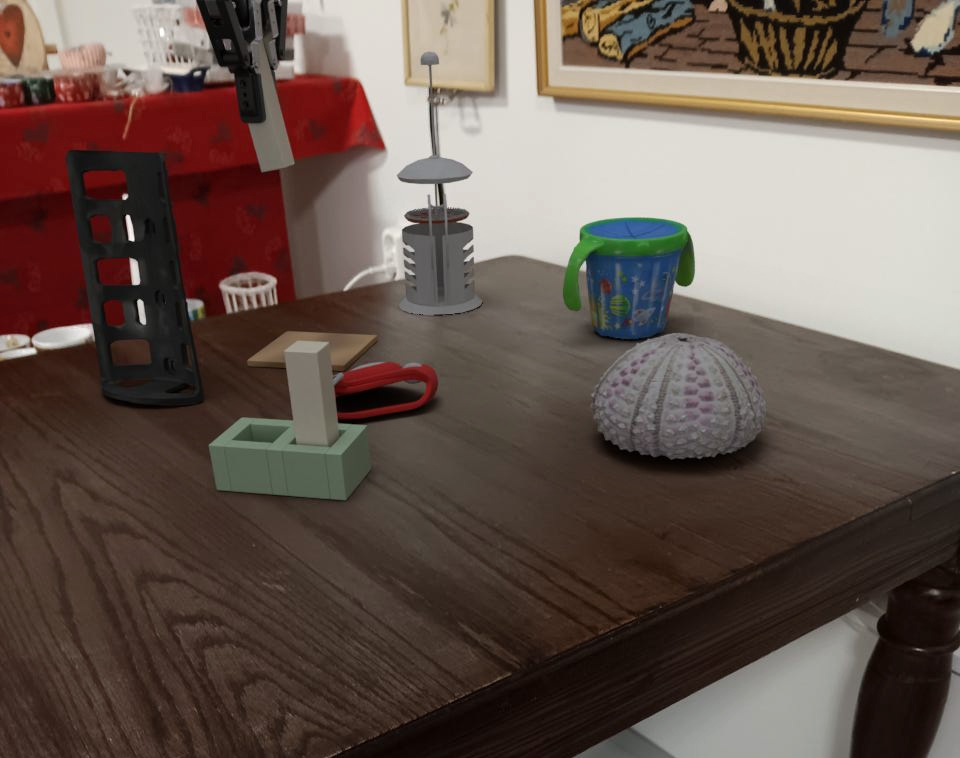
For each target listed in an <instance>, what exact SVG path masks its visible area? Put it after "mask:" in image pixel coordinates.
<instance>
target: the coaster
mask: <svg viewBox="0 0 960 758" xmlns="http://www.w3.org/2000/svg"><path fill="white" fill-rule="evenodd" d="M296 341H315V342H329V345H330V355H331V364H332V372H333V371H335V372H346V371H347V370H348V369H349V368H350V367H351V366H352V365H353V364H354V363H355V362H356V361H357V360H358V359H359V358H361V356H363V355H364V354H365V353H367V351H368V350H369V349H370V348H371V347H372V346H373V345H375V344H376V342H378V335H377V334H361V333H360V334H358V333H336V332H315V331H313V332H312V331H293V330H292V331H291V330H289V331H288V330H287V331H285V332H284V333H282V334H281V335H279V336H278V337H277V338H276V339H274V340H273V341H271V342H270V343H268V345H266V346H265V347H263V348H262V349H261V350H259V351H257V353H255V354H254V355H252V356H251V357H249V358H248V359H247V360H246V363H247V367H254V368H255V367H256V368H257V367H258V368H276V369H286V362H285V355H284V351H285V350H286V349H287V348H289V347H290V346H291V345H292V344H294V343H295V342H296Z"/></svg>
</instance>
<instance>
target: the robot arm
mask: <svg viewBox="0 0 960 758" xmlns="http://www.w3.org/2000/svg"><path fill="white" fill-rule="evenodd" d="M195 2H196V4H197V7H198V10H199V13H200V16H201V19H202V22H203V24H204V27H205V30H206V32H207V35H208V38H209V42H210V44H211V47H212V49H213V53H214V56H215V59H216V62H217V64H218V66H219V67H220V68H227V69H228V72H229V74H231V75H233V79H234V85H235V93H236V100H237V106H238V113H239V114H238V115H239V119H240V121H241V122H242V123H244V124H248V123H262V122H264V121H265V120H266V112H265V104H264V96H263V88H262V80H261V74H256V73H259V71H260V63H259V51H258V43H259V42H260V41H261V40H263V43H264V47H265V51H266V54H267V58H268V62H269V66H270V70H271V74H272V78H273V81H274V85H275V89H276V93H277V97H278V98H279V96H278V87H277V78H276V71H277V70H278V68H279V61H284V60H285V58H286V57H285V56H286V45H287V44H286V42H287V24H288V23H287V21H288V5H289V4H288V2H289V0H195ZM245 42H246V43H247V46H246V43H245Z"/></svg>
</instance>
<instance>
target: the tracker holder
mask: <svg viewBox="0 0 960 758" xmlns="http://www.w3.org/2000/svg"><path fill="white" fill-rule="evenodd" d="M333 382H334V391H335V399H336V398H337V397H343V396H346V395H347V396H349V395H352V394H357V393H361V392H364V391H367V390H372V389H376V388H380V387H385V386H388V385H393V384H397V383H401V382H405V383H407V384H409V385H410V384H412V385H413V384H419V383H424V384H425V391H424V393H423V395H422V396H421V397H420V398H419V399H418V400H415V401H410V402H409V401H408V402H404V403H397V404H392V405H387V406H381V407H374V408H368V409H363V410H357V411H351V412H337V419H338V421H349V420H350V421H351V420H361V419H367V418H373V417H379V416H383V415H385V416H386V415H390V414H395V413H401V412H406V411H412V410H416V409H418V408H421V407H423V406H425V405H427V404H429V402H431V401H432V400H433V399H434V397H435V395H436V394H437V392H438V388H439V377H438V374H437V372H436V370H435V369H434V368H433V367H432V366H431V365H429V364H427V363H419V362H410V363H409V362H408V363H406V364H404V365H403V366H402V365H401V364H399V363H398V362H394V361H376V362H375V361H374V362H369V363H365V364H362V365H359V366H356V367H354V368H352V369H350V370H346V371H343V372H339V373H337V374H335V375H334V374H333Z"/></svg>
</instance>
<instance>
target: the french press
mask: <svg viewBox="0 0 960 758" xmlns="http://www.w3.org/2000/svg"><path fill="white" fill-rule="evenodd" d="M420 65H421V66H428V74H429V76H428V77H429V95H430V96H429V97H430V98H429V99H430V115H431V117H430V118H431V119H430V120H431V139H432V155H430V156H428V157H426V158H420V159H417V160H415V161H413V162H411V163H409V164H407V165H405V166H404V167H403V169H401V170H400V171H399V173H397V174H396V177H397V179H398V180H399V181H400V182H402V183H405V184H416V185H434V200H435V205H433V204H432V203H431V194H426V196H427V204H428V205H427V207H421V208H417V209H416V208H414V209H412V210H409V211H407V212H406V213H405V214H404V215H403V216H404V219H405V220H406V221H408V222H410V223H413V224H409V225H406V226H405V227H403V228H402V229H401V236H402V237H401V239H402V242H403V244H404V245H405V246H409V247H410V248H411V249H412V250H413V251H410V250H408V248H406V247H402V253H403V256H405V257H406V258H407V259H410V260H411V261H412V262H413V263H412V262H409V261H408V260H406V259H403V266H404V268H405V269H406V270H408V271H411V273H413V274H410V273H409V272H408V271H404V278H405V279H406V281H408V282H410V283H412V284H413V285H409V284H408V283H407V282H405V283H404V286H405V287H404V288H405V296H404V298H403V299H402V300H401V301H400V303H399V304H398V307H399V309H400V310H401V311H403V312H406V313H409V314H411V313H413V314H412V315H419V314H421V315H420V316H434V315H433V314H453V315H455V314H454V313H460V312H465V311H468V310H471V309H474V308H476V307H478V306H479V305H480V304H481V302H482V301H483V299H481V298H480V297H479V296H478V295H477V294H476V289H475V288H476V284H475V279H473V280H472V281H471V282H470V283H469V281H470V279H472V278H473V277H474V276H475V268H472V269H471V270H470V272H467V271H468V269H469V268H471V267H472V266H473V265H474V264H475V257H474V256H472V257H471V258H470V259H469V260H467V261H466V259H468V257H469V256H471V255H472V254H473V253H474V252H475V249H474V248H475V247H474V244H471V245H470V247H468V248H467V249H464V248H465V247H466V246H467V245H468V244H470V243H471V242H472V241H473V240H474V226H472V225H471V224H468V223H465V222H462V221H464V220H466V219H468V218H469V216H470V212H469V210H467V209H466V208H460V207H454V206H453V207H452V206H450V207H449V206H447V205H448V204H447V194H446V193H443V194H442V195H443V196H442V197H443V198H442V199H443V202H442V204H440V205H438V204H439V203H438V185H439V184H441V185H442V184H451V183H457V182H462V181H464V180H468V179H469V178H470V177H471V176H472V174H473V173H474V172H473V171H472V170H471V169H470V168H468V167H467V166H466V165H465V164H464V163H462V162H460V161H457V160H455V159H452V158H447V157H443V156H442V157H441V156H440V155H437V154H436V140H435V137H436V136H435V117H434V116H435V115H434V94H433V74H432V71H433V70H432V66H435V65H440V58H439V55H438V54H437V53H436V52H435V51H425V52H424V53H422V55H421V56H420ZM465 313H466V312H465ZM422 314H423V315H422Z"/></svg>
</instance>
